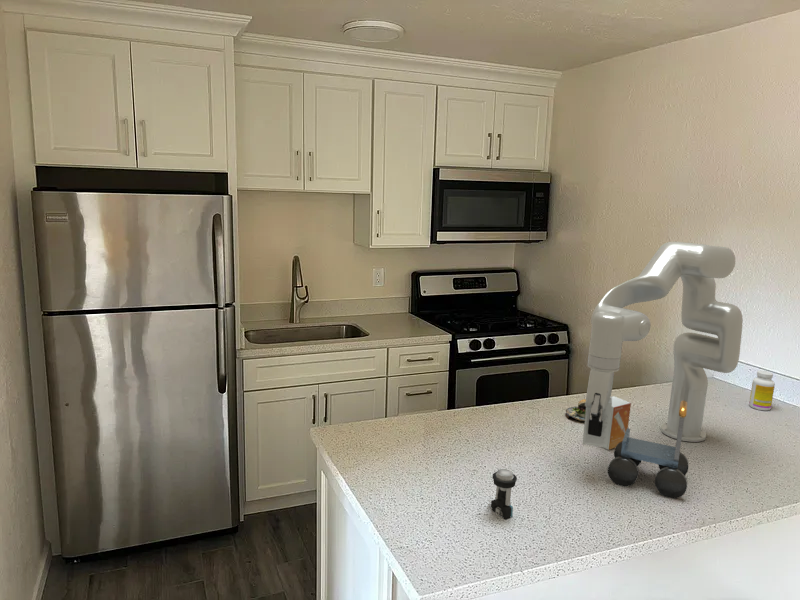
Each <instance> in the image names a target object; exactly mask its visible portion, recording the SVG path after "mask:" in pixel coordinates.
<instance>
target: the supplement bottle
mask: <svg viewBox="0 0 800 600" xmlns="http://www.w3.org/2000/svg"><path fill="white" fill-rule="evenodd" d="M756 376H757V377H754V378H753V379H752V384H751V390H750V396H749V401H748V402H749V404H748V405H749V407H751V408H752V409H754V410H758V411H763V412H765V411H770V410H771V409H772V404H773V398H774V391H775V382H774V380H772V379H773V376H774V373H773V372H770V371H767V370H757V372H756Z"/></svg>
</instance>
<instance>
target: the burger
mask: <svg viewBox="0 0 800 600" xmlns="http://www.w3.org/2000/svg"><path fill="white" fill-rule="evenodd" d="M585 402H586V398H584V399H581V400H580V401H578V402H577V406H571V407H568V408H566V410H565V412H566V413H564V416H565V417H566V419H569V418H572V419H575V420H578V421H582V422H585V413H586V406H585Z"/></svg>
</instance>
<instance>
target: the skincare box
mask: <svg viewBox="0 0 800 600" xmlns="http://www.w3.org/2000/svg"><path fill="white" fill-rule="evenodd" d="M591 406H592V404H591V405H590V407H588V408H587V407H586V413H585V421H584V424H583V425H584V426H583V434H582V436H583V437H582V445H587V446H592V447H593V446H594V447H597V448H598V447H599V448H603V447H604V448H603V449H605V448H607V445H608V436H609V426H610V416H611V407H612V398H610V400H609V402H608V404H607V408H606V409H605V410H603V415H602V421H603V425H602V434H601V436H600V437H598V436H594V435H589V434H588V425H589V418H590V413H591ZM599 408H600V409H601V406H599ZM598 413H599V414H600V411H598Z"/></svg>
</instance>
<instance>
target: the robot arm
mask: <svg viewBox="0 0 800 600" xmlns="http://www.w3.org/2000/svg"><path fill="white" fill-rule="evenodd" d="M735 266H736V256H735V253H734V252H733V250H732V249H731V248H729V247H726V246H719V245H709V244H704V243H692V242H685V241H668V242H665V243H663V244H661V246H660V247H659V248H658V249H657V251H655V254H653V256H652V257H651V259H650V260H649V262H647V264H646V265H645V267H644V268H643V269H642V271H641V272H640V274H638V275H637V276H636V277H634V278H631V279H628V280H626V281H624V282H622V283H620V284H618V285H616V286H614V287H612V288H611V289H610V290H608V291H607V292H606V293H605V294H604V295H603V297H602V298H601V299H600V300H599V302H598V303H597V304H596V306H595V308H594V310H593V312H592V314H591V318H590V323H591V324H590V325H591V329H590V339H589V348H588V357H587V367H588V368H589V369H590V371H589V377H588V384H587V390H586V398H585V399H586V402H585V406H586V407H587V408H588V407H590V405H591V404H592V406H591V413H590V418H589V425H588V434H589V435H594V436H598V437H600V436H601V434H602V425H603V421H602V415H603V410H605V409H606V408H607V404H608V402H609V400H610V397H612V393H613V392H612V391H613V384H614V378H615V377H614V375H615V373H616V372H619V371H620V368H621V360H622V359H621V357H622V352H623V351H622V349H623V342H638V341H642V340H643V339H645V338H646V337H647V336H648V334H649V333H650V331H651V327H652V326H651V319H650V318H649V316H647V314H645V313H643V312H641V311H638V310H632V309H628V308H625V307H628V306H630V305H634V304H639V303H645V302H646V303H647V302H651V301H656V300H660V299H662V298H665V297H666V296H668V294H670V293H669V292H670V291H671V290H672V288H673V287H674V285H675V284H676V282H677V281H678V280H679V279H681V281H682V298H681V299H682V300H681V311H680V312H681V314H680V315H681V319H680V320H681V323H682V326H683V327H684V328H686V329H689V330H692V331H695V332H683V333H681V334H679V335H677V337H675V340H674V342H673V361H674V362H673V376H672V382H671V384H672V385H671V391H670V397H669V398H670V399H669V405H668V406H669V407H668V414H667V421H666V422H665V423H663V424H661V425H660V431H661V433H663V434H664V435H665V436H668V437H669V438H672V439H675V440H677V434H678V427H679V419H680V416H679V409H680V402H681V401H686V402H687V412H686V417H684V424H683V432H682V439H681V442H682V441H684V442H689V443H698V442H703V441H705V440H706V439H707V433H706V432H705V431H704V430H703V429H702V428H703V419H704V412H705V406H706V398H707V392H708V386H709V380H708V376H707V373H706V371H705V370H710V371H714V372H717V373H721V374H722V373H723V374H728V373H729V374H730V373H732V372H733V371H735V370H736V368H737V366H738V363H739V360H740V354H741V344H742V332H743V324H744V323H743V321H744V320H743V319H744V318H743V313H742V310H741V309H740V308H739V307H738V306H737V305H735V304H733V303H729V302H722V301H719V300H718V301H717V300H716V289H717V284H716V280H715V279H725V278H727V277H728V276H730V275H731V274H732V273H733V271H734V269H735ZM697 332H699V333H697ZM701 333H702V334H701ZM703 333H706V334H710V335H715V336H717V337H715V336H710V335H706V334H703ZM704 369H705V370H704ZM599 406H601V409H600V408H599ZM598 411H600V414H599V413H598Z"/></svg>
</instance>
